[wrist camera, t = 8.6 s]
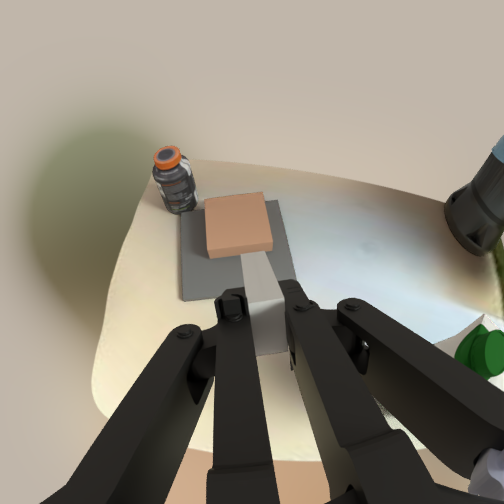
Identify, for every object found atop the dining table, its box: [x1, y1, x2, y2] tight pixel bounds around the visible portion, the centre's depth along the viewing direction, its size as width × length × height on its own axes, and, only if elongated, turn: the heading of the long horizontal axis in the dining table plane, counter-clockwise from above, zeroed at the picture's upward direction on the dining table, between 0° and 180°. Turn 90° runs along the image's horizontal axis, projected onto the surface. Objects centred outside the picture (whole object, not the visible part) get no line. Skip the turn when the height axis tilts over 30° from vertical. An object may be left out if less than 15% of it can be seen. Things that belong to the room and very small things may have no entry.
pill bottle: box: [152, 146, 199, 214], centre depth 41 cm, size 6×6×11 cm
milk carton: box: [433, 314, 504, 391], centre depth 22 cm, size 9×9×20 cm
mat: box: [181, 200, 297, 302], centre depth 41 cm, size 16×15×1 cm
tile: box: [204, 192, 273, 259], centre depth 41 cm, size 9×3×9 cm
